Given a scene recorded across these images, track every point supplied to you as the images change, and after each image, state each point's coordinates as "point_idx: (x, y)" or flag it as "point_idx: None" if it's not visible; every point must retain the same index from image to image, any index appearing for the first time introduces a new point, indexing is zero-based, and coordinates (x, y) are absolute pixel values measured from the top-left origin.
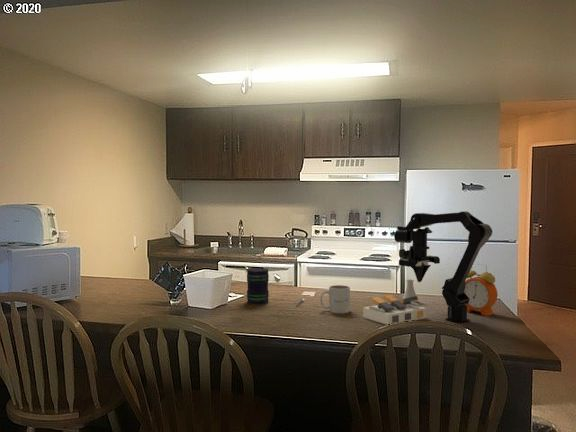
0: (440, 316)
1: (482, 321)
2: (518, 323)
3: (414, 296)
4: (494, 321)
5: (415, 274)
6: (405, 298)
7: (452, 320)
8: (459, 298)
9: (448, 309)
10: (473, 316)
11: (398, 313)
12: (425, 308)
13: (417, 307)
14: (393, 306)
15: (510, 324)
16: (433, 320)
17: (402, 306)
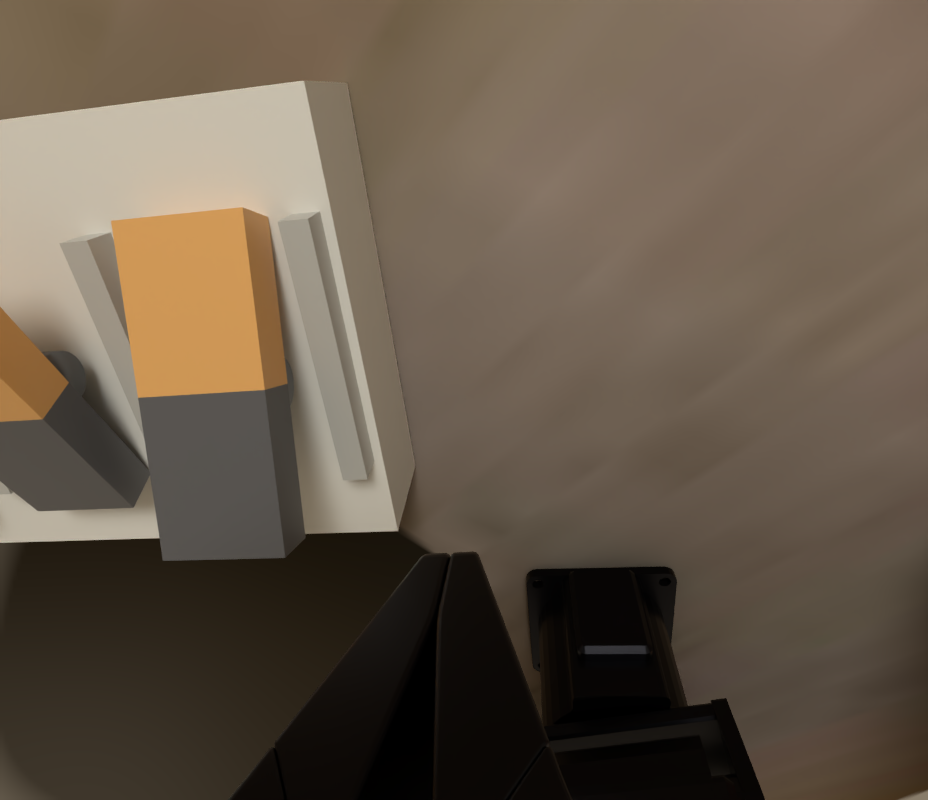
0: (592, 479)
1: (742, 693)
2: (890, 796)
3: (234, 558)
4: (815, 724)
5: (287, 736)
6: (147, 453)
7: (530, 629)
8: (730, 769)
9: (568, 644)
10: (850, 596)
11: (26, 538)
12: (391, 529)
13: (327, 476)
14: (64, 316)
15: (819, 787)
16: (426, 536)
17: (80, 508)
